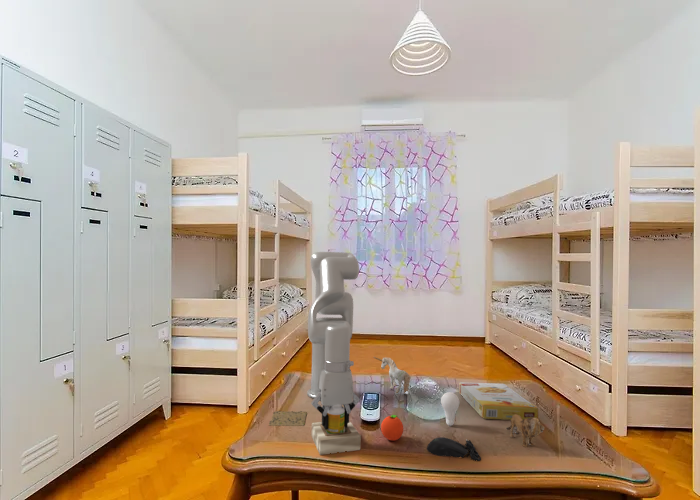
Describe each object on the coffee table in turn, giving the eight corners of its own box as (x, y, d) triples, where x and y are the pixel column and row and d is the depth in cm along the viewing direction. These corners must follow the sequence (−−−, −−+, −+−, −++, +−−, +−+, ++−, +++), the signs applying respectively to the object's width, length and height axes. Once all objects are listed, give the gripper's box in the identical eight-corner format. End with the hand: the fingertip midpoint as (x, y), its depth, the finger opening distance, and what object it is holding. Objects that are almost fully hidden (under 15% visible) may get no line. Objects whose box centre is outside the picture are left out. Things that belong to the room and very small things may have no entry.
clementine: (387, 431, 119) (387, 409, 119) (407, 436, 116) (407, 413, 116) (377, 441, 112) (377, 417, 112) (398, 447, 109) (399, 422, 109)
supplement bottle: (341, 438, 107) (342, 404, 108) (324, 435, 108) (325, 402, 109) (345, 430, 113) (346, 398, 113) (328, 428, 114) (329, 396, 114)
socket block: (311, 436, 114) (311, 422, 114) (348, 431, 118) (348, 418, 118) (319, 455, 103) (320, 439, 103) (360, 449, 106) (360, 434, 107)
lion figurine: (547, 451, 108) (547, 420, 109) (532, 453, 107) (532, 421, 107) (512, 429, 123) (513, 402, 123) (499, 431, 121) (499, 403, 122)
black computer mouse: (424, 442, 113) (424, 430, 113) (473, 446, 111) (473, 433, 112) (428, 459, 102) (429, 445, 103) (482, 463, 101) (482, 449, 101)
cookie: (267, 427, 121) (267, 424, 121) (274, 412, 133) (274, 410, 133) (304, 427, 121) (304, 424, 121) (307, 413, 133) (307, 410, 133)
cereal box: (483, 404, 130) (458, 380, 158) (482, 420, 130) (457, 393, 158) (539, 406, 131) (504, 382, 159) (539, 422, 130) (504, 395, 158)
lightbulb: (460, 424, 126) (460, 391, 126) (457, 431, 120) (458, 396, 121) (442, 420, 128) (442, 388, 129) (439, 427, 123) (439, 393, 123)
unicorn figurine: (382, 384, 168) (383, 354, 169) (418, 395, 154) (418, 362, 155) (372, 387, 163) (373, 356, 164) (408, 399, 149) (408, 365, 150)
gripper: (359, 361, 118) (358, 418, 117) (306, 364, 112) (305, 424, 112) (367, 367, 110) (366, 428, 110) (311, 371, 105) (309, 435, 105)
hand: (335, 426), depth 111 cm, fingers closed on supplement bottle, 5 cm apart
